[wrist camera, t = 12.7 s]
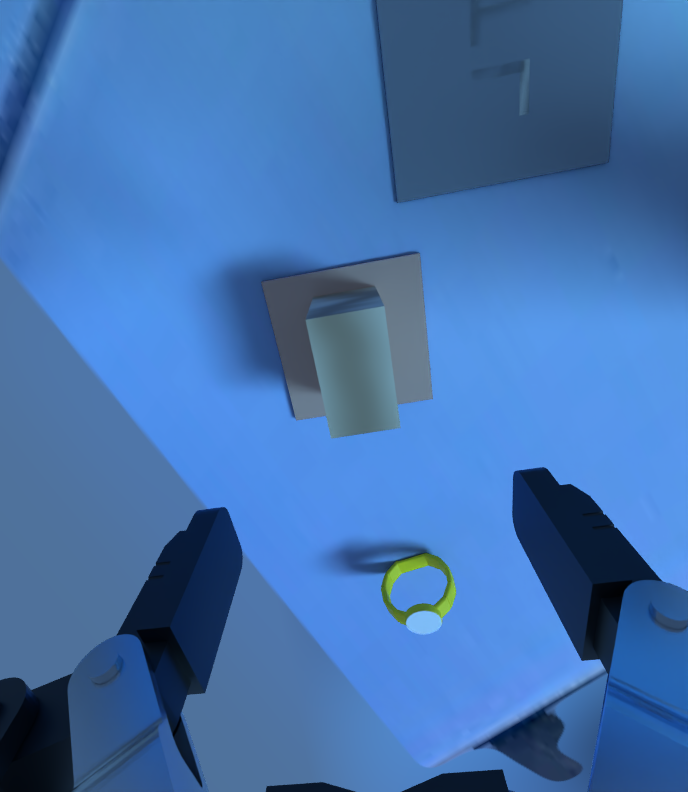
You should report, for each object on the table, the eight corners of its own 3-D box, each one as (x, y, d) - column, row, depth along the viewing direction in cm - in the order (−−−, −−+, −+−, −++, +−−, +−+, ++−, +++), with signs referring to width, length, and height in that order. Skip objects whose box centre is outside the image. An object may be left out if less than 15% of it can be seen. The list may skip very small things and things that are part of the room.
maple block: (374, 286, 25) (384, 305, 20) (388, 386, 28) (400, 427, 23) (313, 297, 25) (305, 319, 20) (333, 395, 28) (331, 438, 23)
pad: (418, 252, 25) (419, 253, 24) (431, 397, 29) (432, 398, 28) (262, 281, 25) (261, 282, 25) (296, 418, 29) (296, 420, 29)
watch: (387, 578, 37) (390, 642, 32) (377, 557, 36) (378, 620, 30) (451, 563, 36) (465, 628, 30) (442, 542, 34) (455, 604, 29)
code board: (633, -143, 18) (636, -147, 18) (606, 162, 23) (608, 162, 23) (367, -79, 19) (367, -82, 18) (397, 202, 23) (397, 202, 23)
